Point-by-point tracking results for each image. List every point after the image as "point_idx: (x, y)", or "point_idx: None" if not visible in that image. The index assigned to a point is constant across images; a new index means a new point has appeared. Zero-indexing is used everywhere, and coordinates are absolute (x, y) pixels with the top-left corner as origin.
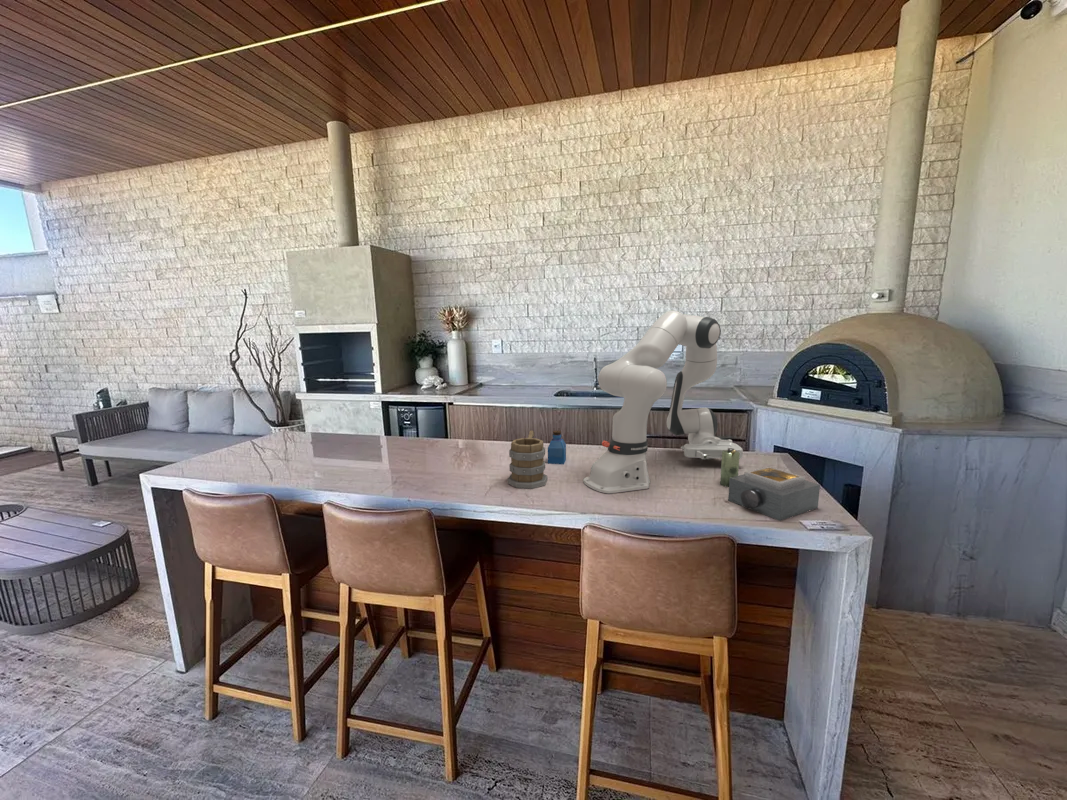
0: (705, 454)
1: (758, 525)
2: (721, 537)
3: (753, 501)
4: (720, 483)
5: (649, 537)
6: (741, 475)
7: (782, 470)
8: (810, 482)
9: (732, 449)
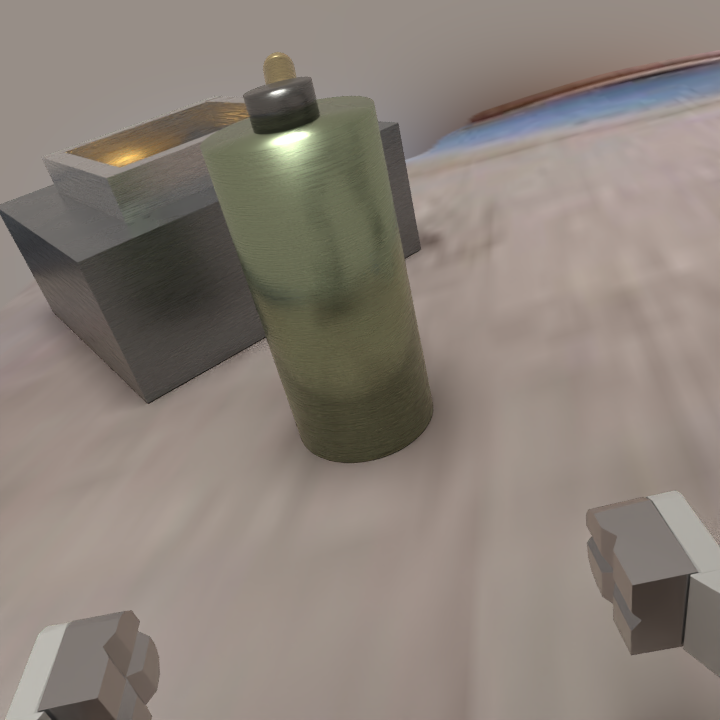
0: (614, 507)
1: None
2: (477, 120)
3: None
4: (430, 393)
5: (665, 68)
6: None
7: (78, 167)
8: (15, 207)
9: (268, 86)
